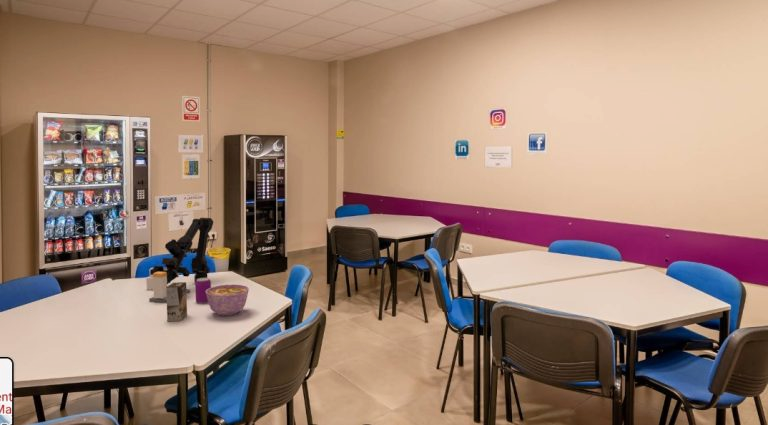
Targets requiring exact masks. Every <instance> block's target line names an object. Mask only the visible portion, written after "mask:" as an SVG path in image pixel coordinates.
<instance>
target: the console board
mask: <svg viewBox="0 0 768 425" xmlns="http://www.w3.org/2000/svg"><path fill="white" fill-rule="evenodd" d="M186 291H187V294H189V293H190V292H191V289H189V288H186ZM148 299H149V300H148V302H149V303H160V304H167V297H165V298H163V299H162V298H154V296H153V297H151V298H148Z"/></svg>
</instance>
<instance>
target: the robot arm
mask: <svg viewBox="0 0 768 425" xmlns="http://www.w3.org/2000/svg"><path fill="white" fill-rule="evenodd" d="M213 225H214V220H213V218H211V217H200V218H194V219H193V220H192V222H191V224H190V225H189V227H188V229H187V231H185V234H184V235H183V236H181V237H180V238H178V239H176V238H175V239H174V238H173V239H172V238H171V240H169V241H168V242H167V243H166V244H165V246H164V247H165V249H166V251H167V252H168V253H169V254H170V255H172V256H171V257H163V258H162V261H161V265H154V266H153V267H152V268H153V270H154V271H155V272H167V285H168V284H169V283H170V284H171V282H173V281H174V280H176V278H179V275H180V274H182V276H183V277H189V276H190V272H191V271H192V274H194V276H193V277H194V281H193V282H194V283H196V281H197V279H199V278H208V274H209V273H210V271H211V268H210V267H209V265H208V260H207V258H206V251H207V247H208V246H207V245H208V244H207V243H208V238H209V233H210V231H211V230H212V229H213ZM198 231H199V233H198ZM197 233H198V234H199V235H198V241H197V247H196V248H197V249H196V255H195V257H192V258H191V264H190V267H191V271H190V270H189V269H188V268H187V266H183V260H184V258H188V256H187V252H185V251H190V250H191V248H192V246H193V240H194V238H195V236H196V235H197ZM162 265H164V266H165V267H164V266H162Z"/></svg>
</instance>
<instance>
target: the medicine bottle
mask: <svg viewBox="0 0 768 425" xmlns="http://www.w3.org/2000/svg"><path fill="white" fill-rule="evenodd" d="M153 268H154V267H151V268H150V269H149V270H148V271H149V276H147V277H146V278H145V281H146V290H147V291H154V284H153V273H155V271H154V270H153Z"/></svg>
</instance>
